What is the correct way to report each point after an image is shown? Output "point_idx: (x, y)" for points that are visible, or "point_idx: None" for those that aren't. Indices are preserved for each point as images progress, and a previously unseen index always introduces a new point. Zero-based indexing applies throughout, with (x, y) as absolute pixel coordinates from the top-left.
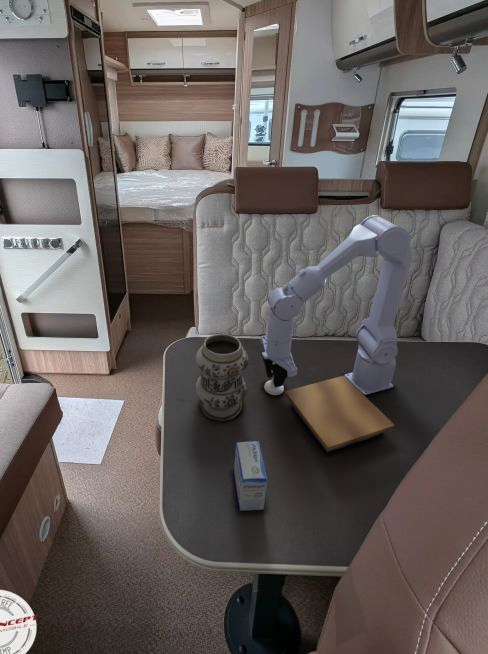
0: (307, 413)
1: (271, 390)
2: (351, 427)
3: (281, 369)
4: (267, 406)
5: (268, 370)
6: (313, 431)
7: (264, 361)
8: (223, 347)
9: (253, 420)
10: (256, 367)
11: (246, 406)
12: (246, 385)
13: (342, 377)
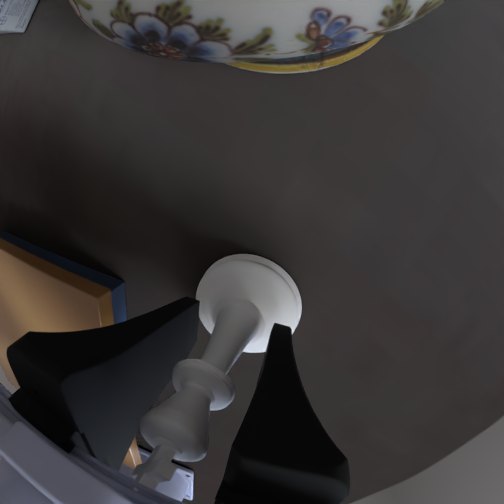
0: (9, 270)
1: (218, 275)
2: None
3: (20, 384)
4: (160, 187)
5: (264, 362)
6: None
7: (289, 410)
8: None
9: (126, 80)
10: (430, 337)
11: (208, 86)
12: (108, 33)
13: (130, 465)
